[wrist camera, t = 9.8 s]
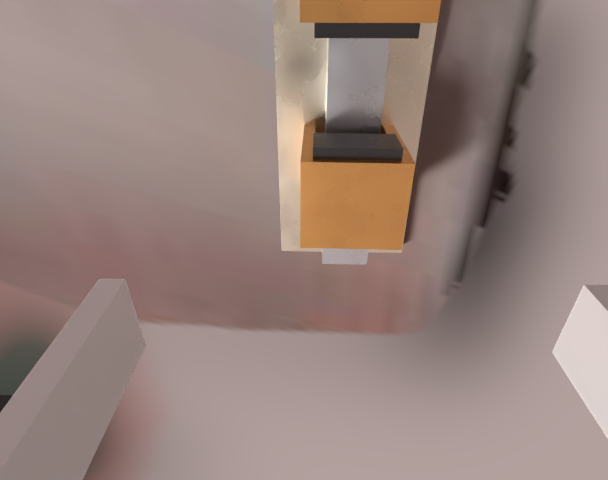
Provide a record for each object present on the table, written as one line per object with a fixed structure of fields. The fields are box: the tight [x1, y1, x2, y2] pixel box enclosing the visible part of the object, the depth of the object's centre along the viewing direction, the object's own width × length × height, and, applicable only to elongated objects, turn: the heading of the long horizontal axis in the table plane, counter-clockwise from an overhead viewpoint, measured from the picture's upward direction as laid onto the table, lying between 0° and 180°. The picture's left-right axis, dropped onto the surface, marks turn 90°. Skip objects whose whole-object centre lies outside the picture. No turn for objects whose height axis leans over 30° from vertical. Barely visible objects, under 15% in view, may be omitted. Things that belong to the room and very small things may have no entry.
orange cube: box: [300, 124, 416, 250], centre depth 23 cm, size 6×6×6 cm
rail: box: [273, 0, 441, 264], centre depth 21 cm, size 24×9×8 cm, turn 0°
